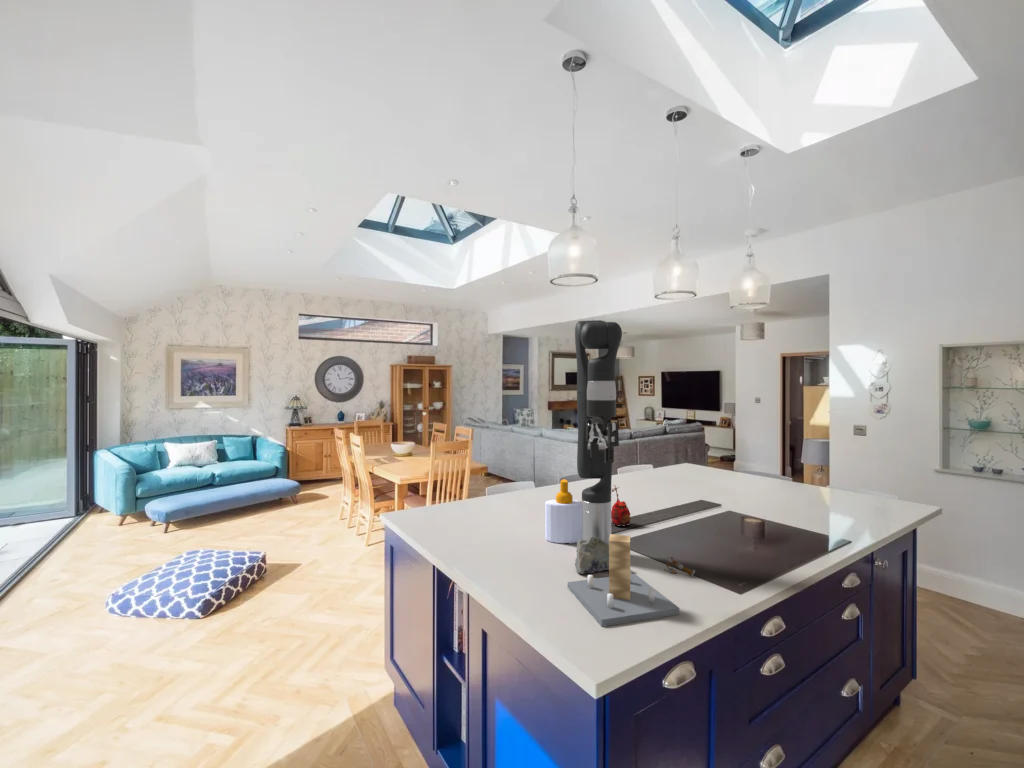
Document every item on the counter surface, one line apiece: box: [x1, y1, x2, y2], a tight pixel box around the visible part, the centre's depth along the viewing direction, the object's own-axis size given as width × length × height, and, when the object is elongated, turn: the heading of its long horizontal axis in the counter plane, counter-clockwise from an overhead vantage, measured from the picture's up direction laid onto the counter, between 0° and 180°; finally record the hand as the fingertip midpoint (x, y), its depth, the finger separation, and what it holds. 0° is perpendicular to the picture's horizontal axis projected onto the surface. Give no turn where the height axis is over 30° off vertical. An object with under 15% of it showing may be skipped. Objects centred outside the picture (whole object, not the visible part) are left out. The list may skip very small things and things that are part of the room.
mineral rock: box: [574, 536, 609, 575], centre depth 132 cm, size 13×11×10 cm
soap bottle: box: [544, 478, 582, 544], centre depth 158 cm, size 13×8×20 cm, turn 84°
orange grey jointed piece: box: [663, 556, 696, 578], centre depth 130 cm, size 2×8×4 cm, turn 63°
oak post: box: [608, 533, 631, 600], centre depth 114 cm, size 5×5×14 cm
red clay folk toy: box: [611, 484, 631, 525], centre depth 175 cm, size 8×7×15 cm
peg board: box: [567, 570, 680, 627], centre depth 114 cm, size 20×20×4 cm
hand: (601, 460), depth 119 cm, fingers open, 8 cm apart
